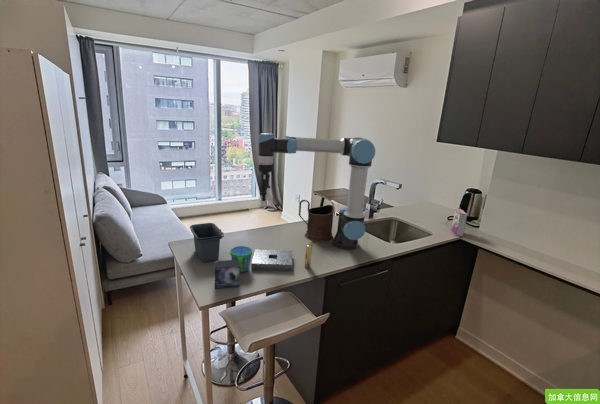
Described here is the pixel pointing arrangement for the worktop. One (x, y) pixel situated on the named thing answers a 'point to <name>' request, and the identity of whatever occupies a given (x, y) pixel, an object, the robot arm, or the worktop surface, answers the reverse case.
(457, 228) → the candy bar box
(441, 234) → the worktop surface
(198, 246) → the storage bin
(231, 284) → the small box
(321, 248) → the worktop surface
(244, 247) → the snack cup
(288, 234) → the worktop surface
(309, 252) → the brass pin
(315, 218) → the brown metal pitcher
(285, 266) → the plate
